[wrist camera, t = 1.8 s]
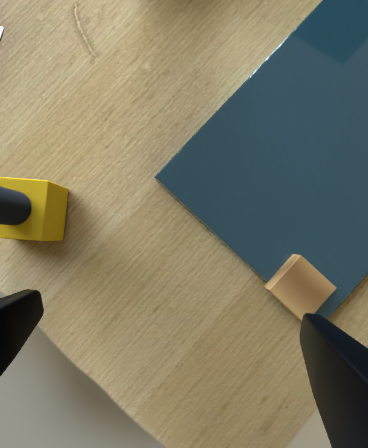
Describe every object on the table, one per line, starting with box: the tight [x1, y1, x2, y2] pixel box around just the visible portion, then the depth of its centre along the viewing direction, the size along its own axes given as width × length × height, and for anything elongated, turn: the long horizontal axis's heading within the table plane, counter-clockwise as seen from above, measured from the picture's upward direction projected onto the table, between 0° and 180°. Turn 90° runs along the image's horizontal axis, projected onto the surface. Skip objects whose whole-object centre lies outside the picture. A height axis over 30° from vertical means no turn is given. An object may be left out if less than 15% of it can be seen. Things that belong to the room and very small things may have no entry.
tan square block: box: [264, 254, 336, 321], centre depth 21 cm, size 4×4×2 cm
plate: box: [155, 0, 368, 319], centre depth 23 cm, size 38×20×1 cm, turn 137°
